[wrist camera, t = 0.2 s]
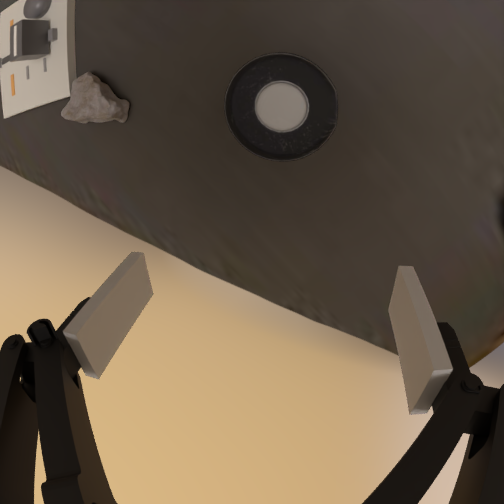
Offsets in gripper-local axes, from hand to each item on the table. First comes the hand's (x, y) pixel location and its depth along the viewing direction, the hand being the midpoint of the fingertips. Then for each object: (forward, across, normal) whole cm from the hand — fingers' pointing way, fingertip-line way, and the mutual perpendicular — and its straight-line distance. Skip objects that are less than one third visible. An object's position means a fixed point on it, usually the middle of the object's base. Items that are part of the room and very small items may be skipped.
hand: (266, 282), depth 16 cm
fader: (+25, -37, +23) cm, 50 cm away
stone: (+28, -27, +10) cm, 40 cm away
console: (+28, -41, +23) cm, 54 cm away
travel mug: (+28, 0, +8) cm, 29 cm away
